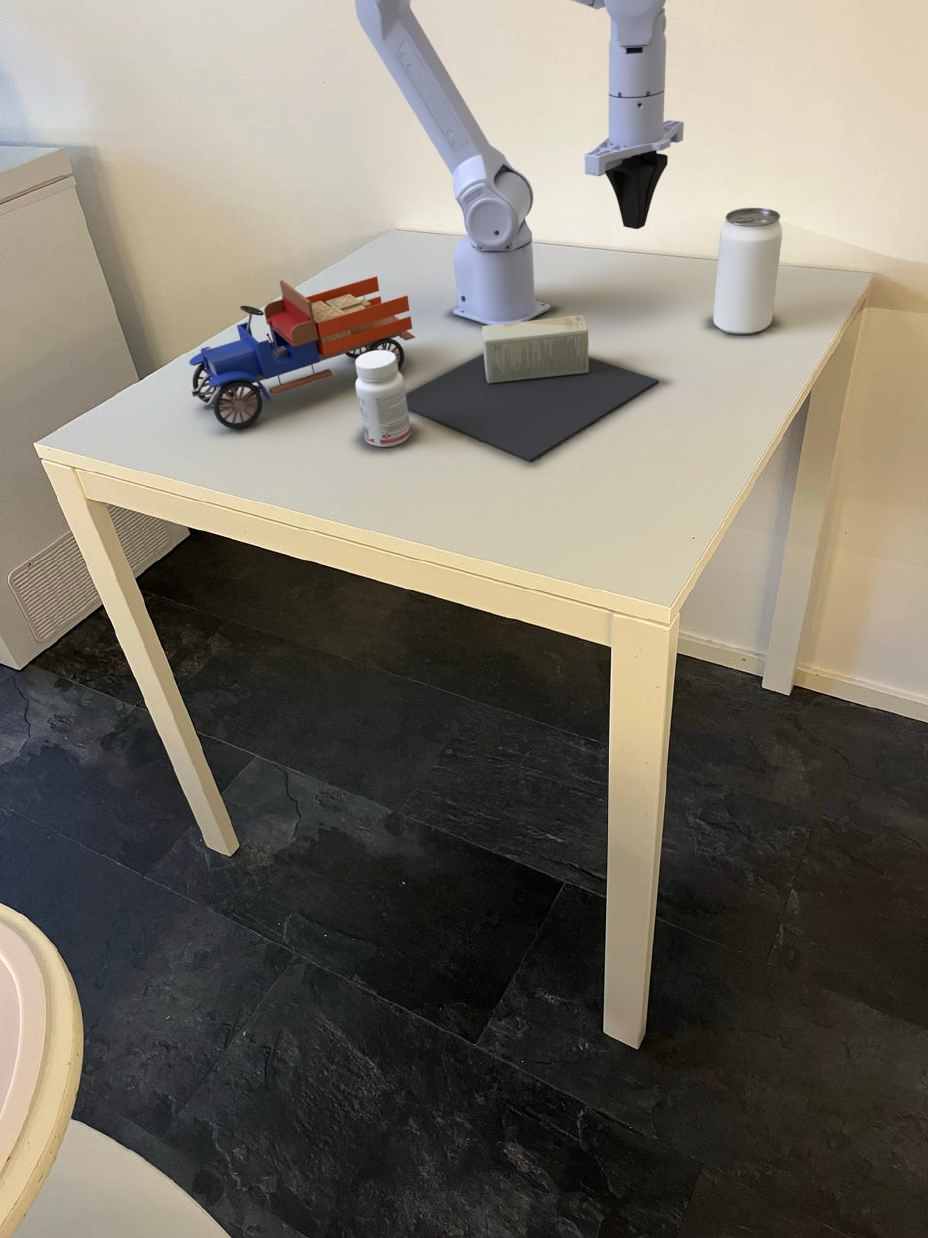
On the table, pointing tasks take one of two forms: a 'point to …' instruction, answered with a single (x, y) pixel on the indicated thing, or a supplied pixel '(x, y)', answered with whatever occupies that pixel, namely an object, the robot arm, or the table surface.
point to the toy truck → (297, 344)
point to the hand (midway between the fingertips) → (634, 226)
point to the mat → (525, 404)
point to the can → (747, 270)
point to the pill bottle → (382, 399)
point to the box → (535, 349)
